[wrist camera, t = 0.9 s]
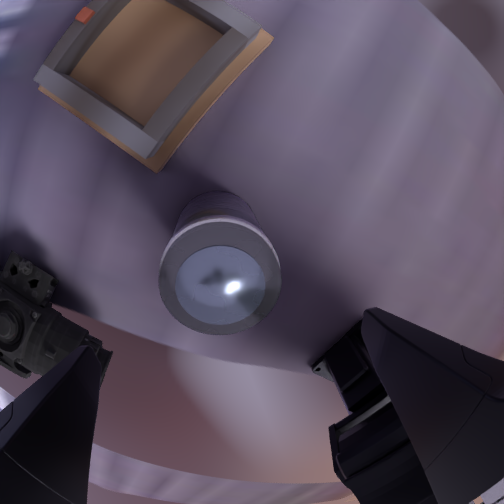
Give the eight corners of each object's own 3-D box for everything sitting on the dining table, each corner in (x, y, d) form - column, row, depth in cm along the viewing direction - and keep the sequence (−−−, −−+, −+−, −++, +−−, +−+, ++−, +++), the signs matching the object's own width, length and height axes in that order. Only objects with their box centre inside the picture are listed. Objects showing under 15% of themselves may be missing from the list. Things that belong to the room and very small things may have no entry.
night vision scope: (127, 316, 22) (91, 417, 19) (-21, 226, 17) (-55, 318, 13) (127, 315, 15) (80, 454, 12) (-58, 193, 10) (-101, 313, 6)
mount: (269, 45, 14) (283, 23, 10) (161, 170, 16) (147, 180, 12) (147, -27, 10) (136, -55, 7) (49, 91, 12) (17, 86, 9)
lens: (275, 223, 18) (310, 275, 12) (224, 282, 19) (232, 355, 13) (209, 172, 16) (206, 197, 10) (160, 238, 18) (133, 299, 11)
